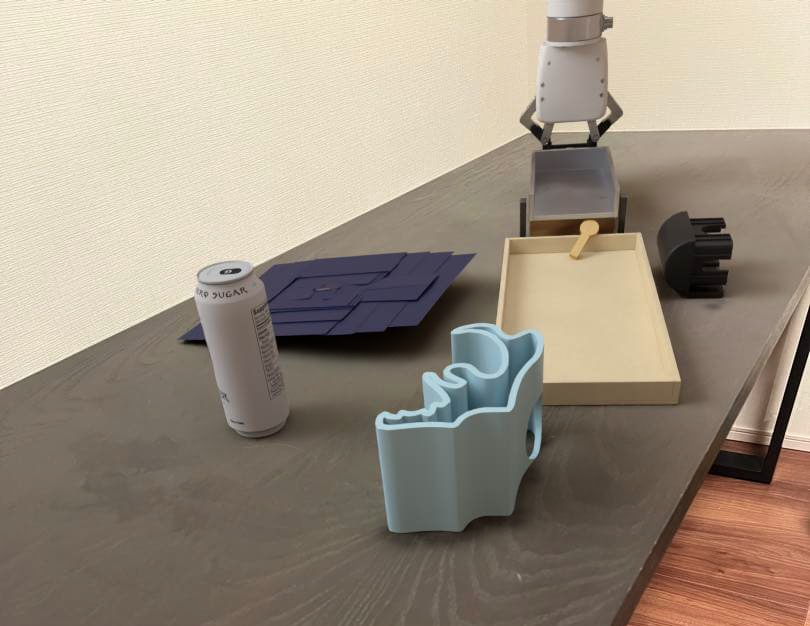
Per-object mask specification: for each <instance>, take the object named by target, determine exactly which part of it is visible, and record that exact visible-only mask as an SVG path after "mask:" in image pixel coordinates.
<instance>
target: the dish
mask: <svg viewBox="0 0 810 626" xmlns="http://www.w3.org/2000/svg"><path fill="white" fill-rule="evenodd" d="M530 152H531V153H530V171H529V192H528V193H529V194H528V197H529V198H528V221H529V222H530V221H533V220H534V221H542V220H565V219H588V218H611V217H615V218H618V212H619V200H620V193H621V188H620V184H619V180H618V176H617V171H616V167H615V164H614V160H613V156H612V151H611V148H610V146H609V145H604V146H597V147H587V142H575V143H559V144H552V149H550V150H542V149H535V150H534V149H533V150H531V151H530Z"/></svg>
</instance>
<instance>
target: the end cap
mask: <svg viewBox="0 0 810 626" xmlns="http://www.w3.org/2000/svg"><path fill="white" fill-rule="evenodd" d="M726 228H727V223H726V220H725V218H724V217H721V216H720V217H694V218H693V217H692V218H691V217H690V216H689V213H688V211H687V210H683V211H679V212H676V213H674V214H672V215H671V216H669V217H668V218H667V219H665V220H664V221H663V223H662V224H661V226H660V228H659V229H658V232H657V235H656V247H657V251H658V257H659V261H660V267H661V271H662V276H663V277H662V278H663V279H664V282H665V284H667V286H668V288H670V289H671V290H673V291H674V292H675V293H676V294H677V295H679V296H680V297H682V298H687V299H709V298H710V299H713V298H715V299H717V298H722V297H724V295H725V288H724V286H726V285H727V284H728V279H729V272H730V271H729V269H718V268H720V265H721V263H720V262H721V261H725V260H727V261H728V260H729V261H730V260H732V257H733V256H732V255H733V251H734V250H733V249H734V240H733V238H732V235H731V233H728V232H727V233H721V232H722V230H725V229H726Z"/></svg>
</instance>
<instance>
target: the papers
mask: <svg viewBox="0 0 810 626" xmlns="http://www.w3.org/2000/svg"><path fill="white" fill-rule="evenodd" d="M454 253H455V250H454V251H439V252H437V251H435V252H431V251H419V252H408V251H401V252H389V253H376V254H363V255H351V256H337V257H325V258H314V259H309V260H301V261H294V262H288V263H278V264H273V265H272V266H271V267H270V268H268V269H267V270H266V271H265V272H264V273H262V274H261V275H260V276H258V277H259V278H260V279H261V281H262V282H263V284H264V287H265V292H266V297H267V302H268V307H269V311H270V316H271V321H272V326H273V331H274V336H275V337H277V336H278V337H280V336H282V337H283V336H309V335H311V336H312V335H320V336H336V335H337V336H338V335H353V334H355V333H374V332H385V330H386V329H387V328H388V327H389V328H391V327H392V328H393V327H410V326H411V327H412V326H418V325H419V324H420V323H421V321H422V320H423V319H424V318H425V316H426V315H428V312H429V311H430V310H431V309H432V307H434V305H435V304H436V302H437V301H438V300H439V299H440V298H441V296H442V295H443V294H444V293H445V291H446V290H447V289H448V288H449V286H451V284H452V283H453V282H454V281H455V280H456V278H457V277H458V276H459V275H460V274H461V273H462V271H463V270H464V269H466V267H467V266H468V264H469V263H470V262H471V261H472V260H473V259H474V258H475V256H476V255H477V254H478V253H477V252H475V253H463V254H462V253H461V254H454ZM192 340H193V341H195V340H197V341H202V340H206V339H205V335H204V332H203V328H202V324H201V322H199V323H197V324H196V325H195V326H194V327H192V328H190V330H188V331H187V332H185V333H184V334H183V335H182V336H180V337H179V338H178V339H177V341H192Z"/></svg>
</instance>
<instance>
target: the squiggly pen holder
mask: <svg viewBox="0 0 810 626" xmlns="http://www.w3.org/2000/svg"><path fill="white" fill-rule="evenodd" d="M450 341H451V360H452V361H451V362H452V364H449V365H447V366H446V367H445V368H444V369H443V370H442V379H441V378H440V377H439V375H438V374H437V373H436V372H433V371H426V372H423V374H422V377H421V380H422V393H423V394H422V395H423V406H424V407H423V408H421V409H417V410H412V411H411V410H406V409H400V410H399V411H398V412H397V413H396V414H393V413H392V412H389V411H382V412H380V413H379V414H378V415H376V418H375V421H374V424H375V433H376V440H377V449H378V457H379V465H380V473H381V480H382V489H383V498H384V504H385V513H386V519H387V520H386V521H387V527H388V530H389V532H392V533H397V534H406V533H418V532H434V531H435V532H436V531H437V532H439V531H441V532H442V531H443V532H452V533H453V532H455V533H460V532H463V531H464V529H465V528H466V527H467V526H468V524H469V523H471V522H472V521H473V520H476V519H478V518H481V517H485V516H486V517H509V516H511V515H512V514H513V512H514V511H515V506H516V499H517V495H518V491H519V487H520V484H521V481H522V478H523V476H524V475H525V473H526V472H527V470H528V469H529V467H530V466H531V465H532V463H534V461H535V460H536V459H537V457H538V455H539V453H540V450H541V444H542V434H543V433H542V432H543V430H542V429H543V427H542V426H543V422H542V421H543V420H542V419H543V417H542V415H543V405H542V398H543V367H544V338H543V335H542V334H541V333H540V332H539V331H537V330H534V329H527V330H525V331H522V332H520V333H518V334H515V335H512V336H510V335H507V334H505V333H504V332H503V331H502V330H501V329H500V328H499V327H498V326H496V324H494V323H488V322H477V323H471V324H465V325H461V326H459V327H456V328H454V329H453V330H451V332H450ZM528 430H529V431H530V432H532V433H533V435H534V444H533V449H532V452H531V454H530V456H528V454H527V446H526V442H527V432H528Z"/></svg>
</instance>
